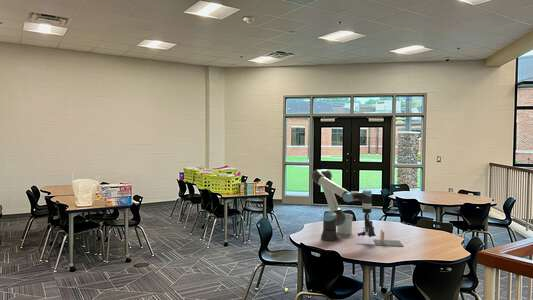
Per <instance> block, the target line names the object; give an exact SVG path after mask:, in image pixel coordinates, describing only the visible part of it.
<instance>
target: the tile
mask: <svg viewBox="0 0 533 300" xmlns="http://www.w3.org/2000/svg"><path fill="white" fill-rule="evenodd" d="M379 240H380V241H381V243H382V244H384V240H385V231H384V230H383V229H380V239H379Z"/></svg>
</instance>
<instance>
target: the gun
mask: <svg viewBox="0 0 533 300" xmlns="http://www.w3.org/2000/svg"><path fill="white" fill-rule="evenodd" d="M362 230H363V231H361V232H357V237H360V236H362V237H364V236H366V235H365V226H364V227H363V229H362ZM368 237H369V238H371V237H376V234H375V227H374V226H373V221H372V220H369V228H368Z"/></svg>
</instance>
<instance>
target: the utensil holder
mask: <svg viewBox="0 0 533 300" xmlns="http://www.w3.org/2000/svg"><path fill="white" fill-rule="evenodd" d="M345 215H346V221H345V223H344V224H342V225H338V226H336V232H337V234H339V235H351V234H352V233H353V232H352V230H353V217H354V216H353V214H350V213H345Z"/></svg>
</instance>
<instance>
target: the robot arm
mask: <svg viewBox="0 0 533 300" xmlns="http://www.w3.org/2000/svg"><path fill="white" fill-rule="evenodd" d="M332 177H333V174H332V172H331V170H329V169H327V168H326V169H325V168H321V169H315V170H314V171H313V172H312V173H311V178H312V179H311V180H313V182H314V183H316V184H317V185H318V186H321V187H322V190H323V193H324V195H325V196H324V197H325V198H326V201H327V205H328V208H329V211H328V212H327V211H326V213H323V218H322V221H323V223H322V233H321V235H320V240H322V241H326V242H336V241H338V240H339V236H338V233H337V226H338V225H342V224H344V223H345V221H346V215H345V214H346V213H345V212H344V211H342V208H340V207H339V204H338V201H337V198H336V195H337V196H339V197H340V198H342V199H343V201H344V202H346V203H350V202H354V201H361V202H362V213H364V216H363V217H364V227H365V228H364V232H365V235H364V236H368V228H369V221H370V214H372V206H373V204H372V190H369V189H364V190H362V191H356V190H354V191H353V190H351V191H348V190H347V189H346V188H343V187H342V186H340V185H338V184H337V183H335V182H334V181H332V179H333V178H332ZM335 194H336V195H335ZM368 237H369V236H368Z"/></svg>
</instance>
